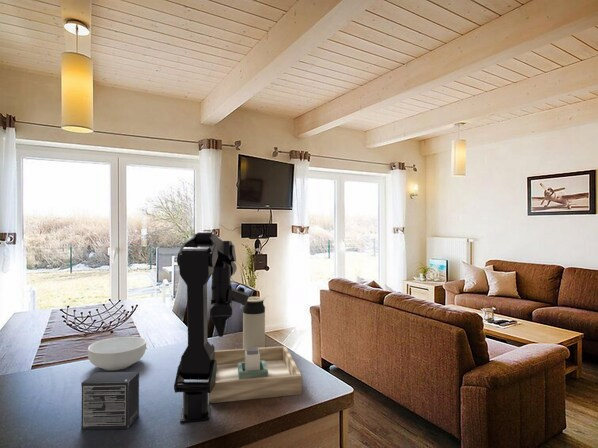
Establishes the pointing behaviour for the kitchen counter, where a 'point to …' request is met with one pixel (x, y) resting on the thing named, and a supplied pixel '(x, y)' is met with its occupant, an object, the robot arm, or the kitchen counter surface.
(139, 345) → the cereal bowl
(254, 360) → the grey plug
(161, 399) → the kitchen counter surface
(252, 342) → the travel mug
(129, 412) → the small box
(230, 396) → the walled box
